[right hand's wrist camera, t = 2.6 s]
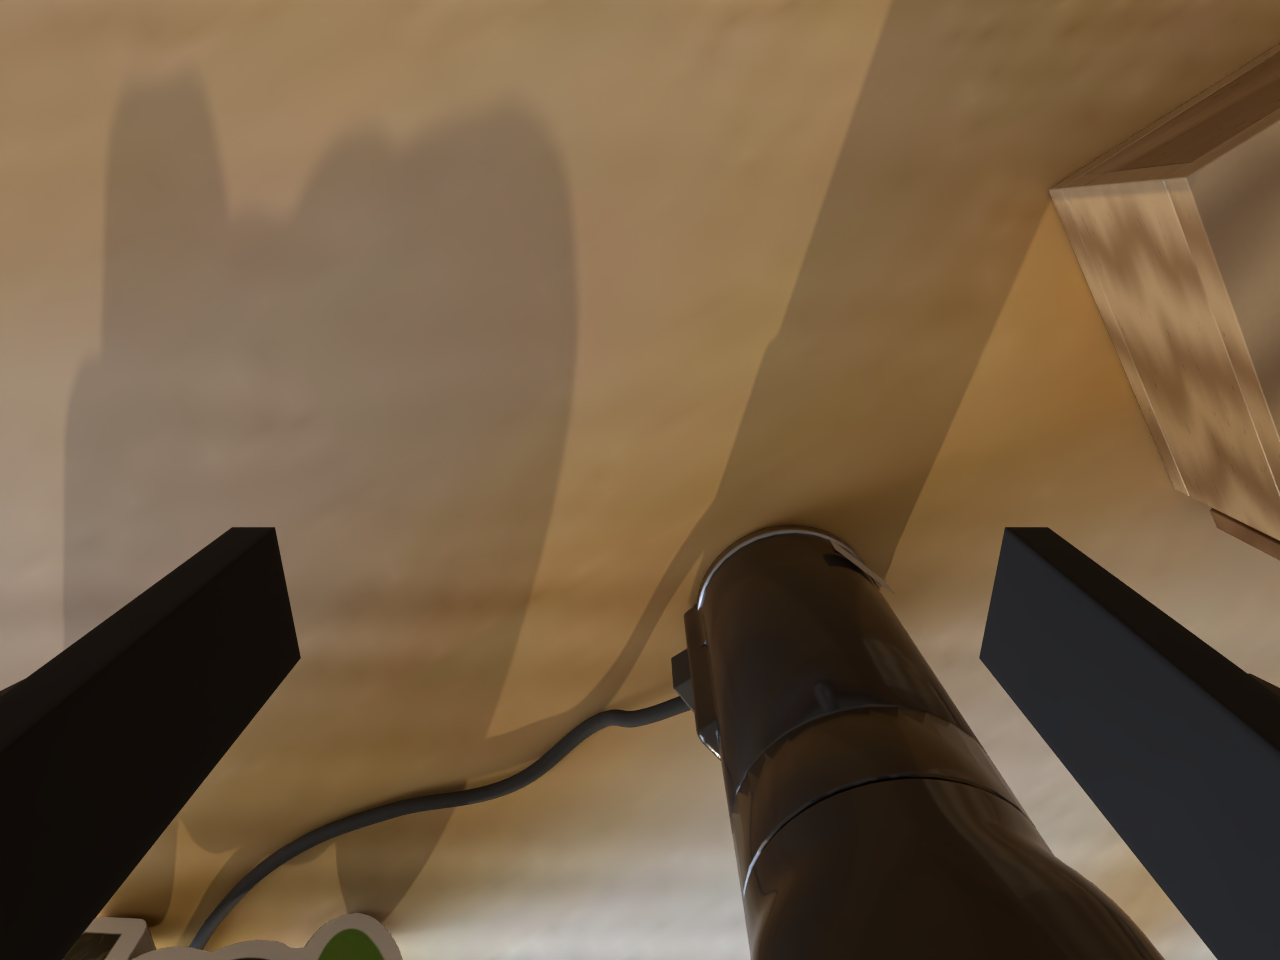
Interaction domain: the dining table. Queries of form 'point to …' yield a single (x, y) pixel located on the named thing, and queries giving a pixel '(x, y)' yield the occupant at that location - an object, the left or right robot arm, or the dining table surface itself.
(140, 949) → the cutout
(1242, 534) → the drawer
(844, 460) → the dining table surface
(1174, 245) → the cabinet
